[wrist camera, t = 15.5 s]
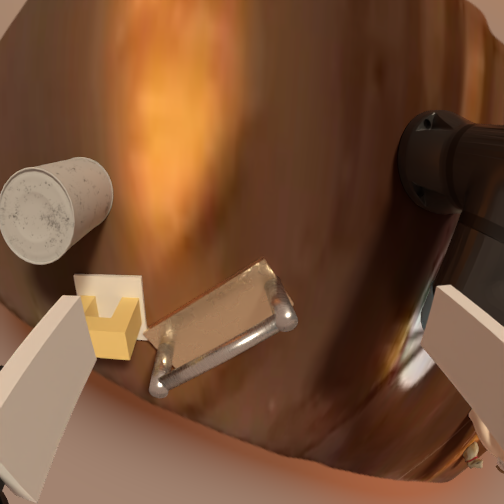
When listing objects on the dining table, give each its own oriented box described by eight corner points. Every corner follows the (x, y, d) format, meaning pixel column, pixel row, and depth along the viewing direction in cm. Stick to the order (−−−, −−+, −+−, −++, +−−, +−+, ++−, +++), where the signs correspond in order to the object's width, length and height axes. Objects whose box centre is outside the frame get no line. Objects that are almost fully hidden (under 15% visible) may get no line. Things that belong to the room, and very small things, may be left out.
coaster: (141, 275, 41) (140, 277, 41) (148, 338, 44) (147, 340, 44) (75, 273, 40) (73, 275, 39) (86, 333, 43) (85, 336, 43)
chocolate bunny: (457, 456, 75) (470, 475, 65) (474, 441, 73) (487, 460, 64) (463, 456, 76) (475, 475, 67) (479, 441, 74) (492, 460, 65)
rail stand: (264, 255, 42) (278, 289, 33) (293, 299, 45) (312, 340, 35) (143, 329, 44) (129, 374, 35) (177, 365, 47) (172, 412, 37)
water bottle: (467, 425, 67) (511, 489, 41) (459, 417, 64) (509, 487, 38) (492, 401, 65) (541, 461, 39) (487, 391, 62) (541, 457, 36)
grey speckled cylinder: (82, 244, 39) (41, 283, 27) (37, 195, 36) (-15, 218, 24) (128, 193, 37) (93, 217, 26) (79, 141, 34) (30, 146, 23)
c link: (84, 319, 42) (64, 353, 34) (79, 295, 40) (56, 327, 32) (142, 323, 43) (129, 360, 35) (139, 297, 42) (124, 332, 34)
